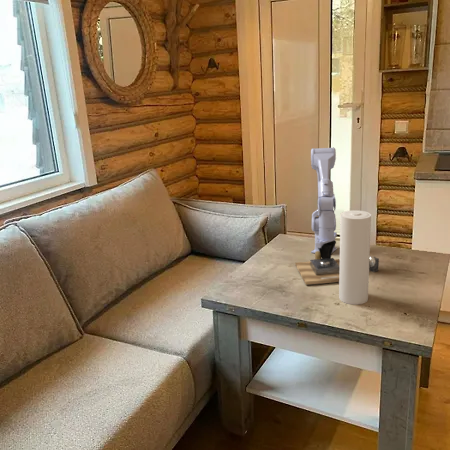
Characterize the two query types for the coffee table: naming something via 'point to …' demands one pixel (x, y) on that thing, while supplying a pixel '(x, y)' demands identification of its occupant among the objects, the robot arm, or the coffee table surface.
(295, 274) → the coffee table surface
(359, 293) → the cylinder container
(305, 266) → the wooden base with peg
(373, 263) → the dial indicator
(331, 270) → the cover
